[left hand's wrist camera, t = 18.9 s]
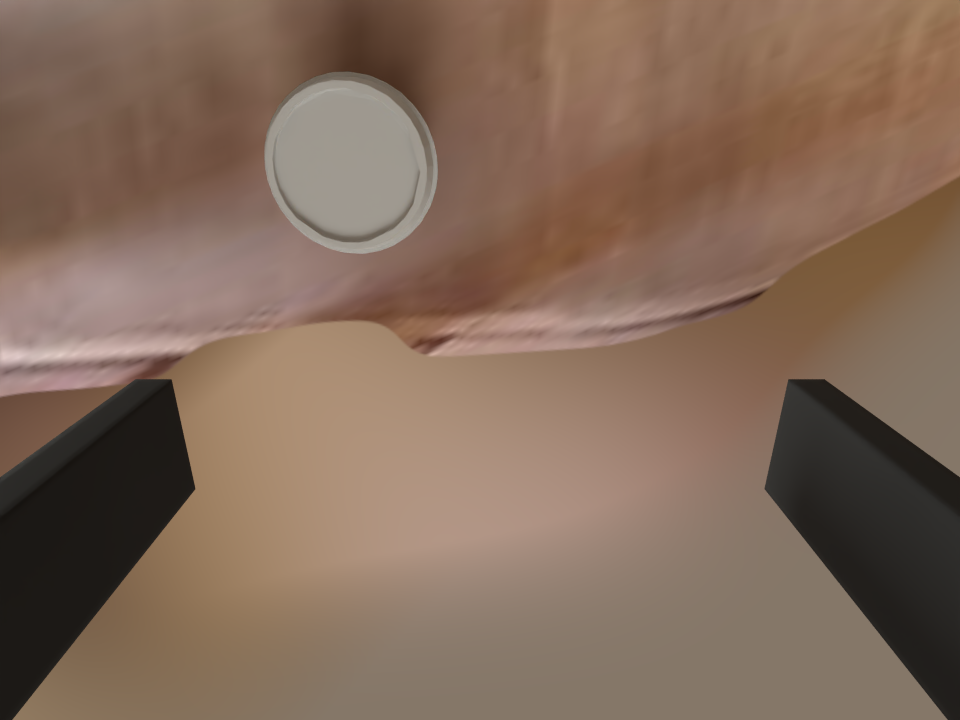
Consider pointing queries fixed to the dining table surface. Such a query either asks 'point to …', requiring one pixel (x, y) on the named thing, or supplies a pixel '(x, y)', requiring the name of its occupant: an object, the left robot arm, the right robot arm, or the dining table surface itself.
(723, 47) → the dining table surface
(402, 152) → the disposable coffee cup
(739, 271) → the dining table surface
